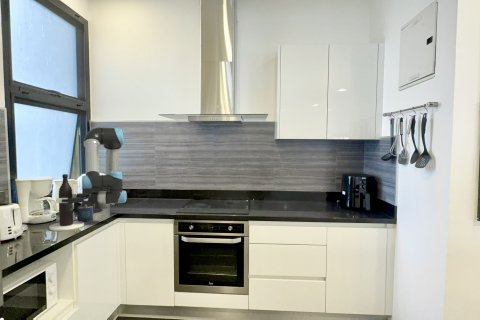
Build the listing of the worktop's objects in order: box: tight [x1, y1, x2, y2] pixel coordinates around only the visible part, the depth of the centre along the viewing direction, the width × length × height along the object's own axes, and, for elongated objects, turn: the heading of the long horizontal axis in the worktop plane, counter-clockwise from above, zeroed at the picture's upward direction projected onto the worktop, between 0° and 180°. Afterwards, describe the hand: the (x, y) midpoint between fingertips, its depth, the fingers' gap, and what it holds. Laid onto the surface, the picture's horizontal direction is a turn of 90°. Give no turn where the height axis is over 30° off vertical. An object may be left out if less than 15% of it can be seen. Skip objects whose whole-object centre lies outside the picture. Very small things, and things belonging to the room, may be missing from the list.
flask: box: [76, 205, 94, 223], centre depth 194 cm, size 9×3×11 cm, turn 135°
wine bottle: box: [58, 173, 74, 226], centre depth 180 cm, size 7×7×30 cm
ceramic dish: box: [48, 220, 85, 232], centre depth 181 cm, size 18×18×1 cm
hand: (60, 198), depth 179 cm, fingers open, 13 cm apart
